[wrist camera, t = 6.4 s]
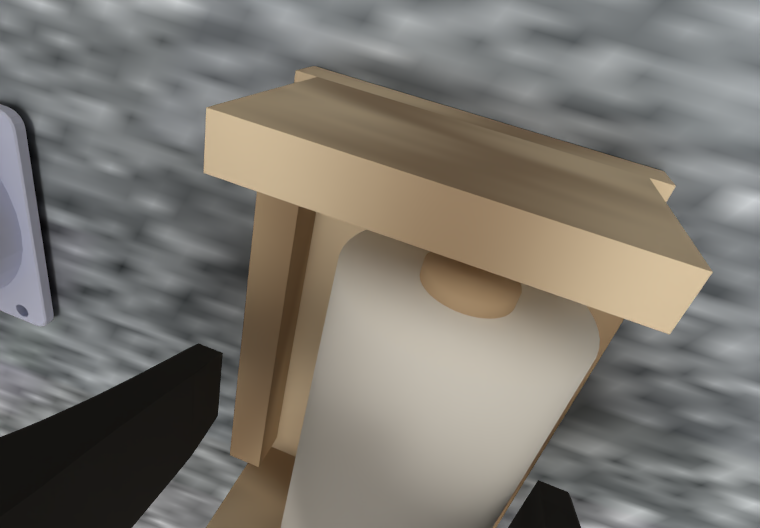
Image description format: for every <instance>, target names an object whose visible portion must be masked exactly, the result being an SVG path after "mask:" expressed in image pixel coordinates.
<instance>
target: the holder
mask: <svg viewBox="0 0 760 528" xmlns="http://www.w3.org/2000/svg"><path fill="white" fill-rule="evenodd" d="M204 173H206V174H208V175H211V176H214V177H217V178H220V179H223V180H226V181H229V182H232V183H234V184H237V185H240V186H243V187H246V188H249V189H252V190H255V191H257V197H256V207H255V216H254V226H253V236H252V245H251V255H250V265H249V274H248V284H247V294H246V304H245V313H244V323H243V333H242V342H241V352H240V362H239V371H238V381H237V391H236V400H235V410H234V420H233V429H232V439H231V449H230V455H232V456H234V457H236V458H238V459H241V460H243V461H245V462H248V464H247V465H246V467H245V468H244V470H243V472H242V473H241V475H240V476H239V478H238V479H237V481H236V482H235V484H234V485H233V487H232V488H231V490H230V491H229V493H228V495H227V496H226V498H225V499H224V501H223V502H222V504H221V505H220V507H219V508H218V510H217V511H216V513H215V514H214V516H213V518H212V519H211V521H210V522H209V524H208V525H207V527H206V528H281V523H282V519H283V514H284V509H285V505H286V500H287V495H288V491H289V486H290V481H291V477H292V472H293V467H294V463H295V458H296V453H297V449H298V444H299V439H300V435H301V430H302V425H303V421H304V416H305V411H306V407H307V402H308V397H309V393H310V388H311V383H312V379H313V374H314V369H315V365H316V360H317V355H318V351H319V346H320V341H321V337H322V332H323V327H324V323H325V318H326V313H327V309H328V304H329V299H330V295H331V290H332V285H333V281H334V276H335V271H336V267H337V262H338V258H339V254H340V252H341V250H342V248H343V246H344V245H345V244H346V243H347V242H348V241H349V240H350V239H351V238H352V237H354V236H355V235H356V234H358V233H360V232H362V231H364V230H370V231H373V232H376V233H379V234H382V235H384V236H387V237H390V238H393V239H396V240H399V241H402V242H405V243H407V244H410V245H413V246H416V247H419V248H422V249H425V250H428V251H431V252H433V253H436V254H439V255H442V256H445V257H448V258H451V259H454V260H457V261H459V262H462V263H465V264H468V265H471V266H474V267H477V268H480V269H482V270H485V271H488V272H491V273H494V274H497V275H500V276H503V277H506V278H508V279H511V280H514V281H517V282H520V283H523V284H526V285H529V286H532V287H534V288H537V289H540V290H543V291H546V292H549V293H552V294H555V295H557V296H560V297H563V298H566V299H569V300H572V301H575V302H578V303H581V304H583V305H586V306H587V307H588V309H589V311H590V312H591V314H592V316H593V318H594V320H595V322H596V325H597V328H598V332H599V338H600V343H599V351H598V354H597V357H596V359H595V361H594V362H593V364H592V365H591V367H590V369H589V370H588V372H587V374H586V375H585V377H584V379H583V380H582V382H581V383H580V385H579V387H578V388H577V390H576V392H575V393H574V395H573V397H572V398H571V400H570V401H569V403H568V405H567V406H566V408H565V410H564V411H563V413H562V415H561V416H560V418H559V419H558V421H557V423H556V424H555V426H554V428H553V429H552V431H551V433H550V434H549V436H548V437H547V439H546V441H545V442H544V444H543V446H542V447H541V449H540V451H539V452H538V454H537V455H536V457H535V459H534V460H533V462H532V464H531V465H530V467H529V469H528V470H527V472H526V473H525V475H524V477H523V478H522V480H521V482H520V483H519V485H518V487H517V488H516V490H515V492H514V493H513V495H512V496H511V498H510V500H509V501H508V503H507V505H506V506H505V508H504V510H503V511H502V513H501V514H500V516H499V518H498V519H497V521H496V523H495V524H494V526H493V528H496V527H497V525H498V523H499V522H500V520H501V519H502V517H503V515H504V514H505V512H506V510H507V509H508V507H509V506H510V504H511V502H512V501H513V499H514V497H515V496H516V494H517V493H518V491H519V489H520V488H521V486H522V484H523V483H524V481H525V479H526V478H527V476H528V475H529V473H530V471H531V470H532V468H533V466H534V465H535V463H536V462H537V460H538V458H539V457H540V455H541V453H542V452H543V450H544V449H545V447H546V445H547V444H548V442H549V440H550V439H551V437H552V436H553V434H554V432H555V431H556V429H557V427H558V426H559V424H560V422H561V421H562V419H563V418H564V416H565V414H566V413H567V411H568V409H569V408H570V406H571V405H572V403H573V401H574V400H575V398H576V396H577V395H578V393H579V392H580V390H581V388H582V387H583V385H584V383H585V382H586V380H587V379H588V377H589V375H590V374H591V372H592V370H593V369H594V367H595V366H596V364H597V362H598V361H599V359H600V357H601V356H602V354H603V352H604V351H605V349H606V348H607V346H608V344H609V343H610V341H611V339H612V338H613V336H614V335H615V333H616V331H617V330H618V328H619V326H620V325H621V323H622V322H623V320H624V319H627V320H630V321H632V322H635V323H638V324H641V325H644V326H647V327H650V328H653V329H656V330H658V331H661V332H664V333H667V334H670V333H671V332H672V330H673V329H674V327H675V326H676V325H677V323H678V322H679V320H680V319H681V317H682V316H683V314H684V313H685V312H686V310H687V309H688V307H689V306H690V304H691V303H692V301H693V300H694V298H695V297H696V296H697V294H698V293H699V291H700V290H701V288H702V287H703V285H704V284H705V283H706V281H707V280H708V278H709V277H710V275H711V274H712V270H711V269H710V267H709V266H708V264H707V263H706V261H705V260H704V258H703V257H702V255H701V254H700V252H699V251H698V249H697V248H696V246H695V245H694V244H693V242H692V241H691V239H690V238H689V236H688V235H687V233H686V232H685V230H684V229H683V227H682V226H681V224H680V223H679V221H678V220H677V218H676V217H675V215H674V214H673V212H672V211H671V209H670V208H669V206H668V205H667V203H666V202H667V200H668V199H669V197H670V195H671V193H672V192H673V190H674V188H675V184H674V183H673V182H672V181H671V179H670V178H669V177H668V176H667V174H666V173H665V172H664V171H661V170H658V169H654V168H651V167H648V166H644V165H641V164H638V163H634V162H631V161H628V160H624V159H621V158H618V157H615V156H611V155H608V154H605V153H601V152H598V151H595V150H591V149H588V148H585V147H581V146H578V145H575V144H571V143H568V142H565V141H561V140H558V139H555V138H551V137H548V136H545V135H541V134H538V133H535V132H532V131H528V130H525V129H522V128H518V127H515V126H512V125H508V124H505V123H502V122H498V121H495V120H492V119H488V118H485V117H482V116H478V115H475V114H472V113H468V112H465V111H462V110H458V109H455V108H452V107H449V106H445V105H442V104H439V103H435V102H432V101H429V100H425V99H422V98H419V97H415V96H412V95H409V94H405V93H402V92H399V91H395V90H392V89H389V88H385V87H382V86H379V85H375V84H372V83H369V82H366V81H362V80H359V79H356V78H352V77H349V76H346V75H342V74H339V73H336V72H332V71H329V70H326V69H322V68H319V67H316V66H313V67H308V68H304V69H299V70H296V72H295V80H294V83H293V84H289V85H286V86H282V87H278V88H275V89H271V90H268V91H264V92H260V93H257V94H253V95H250V96H246V97H242V98H239V99H235V100H231V101H228V102H224V103H221V104H217V105H213V106H210V107H206V128H205V152H204Z"/></svg>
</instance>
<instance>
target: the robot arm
mask: <svg viewBox="0 0 760 528" xmlns="http://www.w3.org/2000/svg"><path fill="white" fill-rule="evenodd" d="M0 311H3V312H5V313H8V314H10V315H12V316H15V317H17V318H20V319H22V320H24V321H27V322H29V323H31V324H34V325H37V326H45V325H46V324H48V323H49V322H51V321H52V320H53V316H54V313H53V307H52V300H51V294H50V287H49V280H48V274H47V267H46V261H45V254H44V247H43V241H42V234H41V228H40V221H39V214H38V208H37V201H36V195H35V188H34V181H33V175H32V168H31V162H30V155H29V148H28V142H27V135H26V129H25V125H24V122H23V120H22V119H21V117H20V116H19V115H18V114H17V113H16V112H15V111H14V110H13V109H11V108H9V107H7V106H4V105H1V104H0ZM222 354H223V353H221V352H218V351H216V350H214V349H211V348H209V347H206V346H204V345H201V344H196V345H194V346H192V347H190V348H188V349H186V350H184V351H182V352H181V353H179V354H177V355H175V356H173V357H171V358H169V359H167V360H165V361H163V362H162V363H160V364H158V365H156V366H154V367H152V368H150V369H148V370H146V371H144V372H142V373H141V374H139V375H137V376H135V377H133V378H131V379H129V380H127V381H125V382H123V383H121V384H119V385H117V386H115V387H113V388H111V389H109V390H107V391H105V392H103V393H101V394H99V395H97V396H94V397H92V398H90V399H88V400H86V401H84V402H82V403H79V404H77V405H75V406H73V407H71V408H68V409H66V410H64V411H62V412H59V413H57V414H55V415H53V416H51V417H48V418H46V419H44V420H41V421H39V422H37V423H34V424H32V425H30V426H27V427H25V428H22V429H20V430H17V431H15V432H12V433H10V434H7V435H5V436H2V437H0V528H132V527H133V526H134V524H135V523H136V522H137V521H138V520H139V518H140V517H141V516H142V515H143V514H144V512H145V511H146V510H147V509H148V508H149V506H150V505H151V504H152V503H153V502H154V500H155V499H156V498H157V497H158V496H159V494H160V493H161V492H162V491H163V490H164V488H165V487H166V486H167V485H168V484H169V482H170V481H171V480H172V479H173V478H174V476H175V475H176V474H177V473H178V471H179V470H180V469H181V468H182V467H183V465H184V464H185V463H186V462H187V460H188V459H189V458H190V457H191V455H192V454H193V453H194V451H195V450H196V448H197V447H198V445H199V444H200V442H201V441H202V439H203V438H204V436H205V435H206V433H207V431H208V430H209V428H210V427H211V425H212V424H213V422H214V421H215V419H216V417H217V416H218V405H219V393H220V380H221V367H222ZM508 528H581V526H580V523H579V520H578V518H577V515H576V512H575V509H574V506H573V503H572V500H571V497H570V495H569V493H568V492H566V491H564V490H561V489H559V488H556V487H554V486H551V485H549V484H546V483H544V482H541V481H539V480H538V482H537V483H536V485H535V486H534V488H533V489H532V491H531V493H530V494H529V496H528V497H527V499H526V500H525V502H524V504H523V505H522V507H521V508H520V510H519V511H518V513H517V515H516V516H515V518H514V519H513V521H512V522H511V524H510V526H509V527H508Z"/></svg>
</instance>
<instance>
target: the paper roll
mask: <svg viewBox="0 0 760 528" xmlns="http://www.w3.org/2000/svg"><path fill="white" fill-rule="evenodd" d="M599 343H600V338H599V332H598V328H597V325H596V322H595V320H594V318H593V316H592V314H591V312H590V311H589V309H588V307H587V306H586V305H583V304H581V303H578V302H575V301H572V300H569V299H566V298H563V297H560V296H557V295H555V294H552V293H549V292H546V291H543V290H540V289H537V288H534V287H532V286H529V285H526V284H523V283H520V282H517V281H514V280H511V279H508V278H506V277H503V276H500V275H497V274H494V273H491V272H488V271H485V270H482V269H480V268H477V267H474V266H471V265H468V264H465V263H462V262H459V261H457V260H454V259H451V258H448V257H445V256H442V255H439V254H436V253H433V252H431V251H428V250H425V249H422V248H419V247H416V246H413V245H410V244H407V243H405V242H402V241H399V240H396V239H393V238H390V237H387V236H384V235H382V234H379V233H376V232H373V231H370V230H364V231H362V232H360V233H358V234H356V235H355V236H354V237H352V238H351V239H350V240H349V241H348V242H347V243H346V244H345V245H344V246H343V248H342V250H341V252H340V254H339V258H338V262H337V267H336V271H335V276H334V281H333V285H332V290H331V295H330V299H329V304H328V309H327V313H326V318H325V323H324V327H323V332H322V337H321V341H320V346H319V351H318V355H317V360H316V365H315V369H314V374H313V379H312V383H311V388H310V393H309V397H308V402H307V407H306V411H305V416H304V421H303V425H302V430H301V435H300V439H299V444H298V449H297V453H296V458H295V463H294V467H293V472H292V477H291V481H290V486H289V491H288V495H287V500H286V505H285V509H284V514H283V519H282V523H281V528H493V526H494V524H495V523H496V521H497V519H498V518H499V516H500V514H501V513H502V511H503V510H504V508H505V506H506V505H507V503H508V501H509V500H510V498H511V496H512V495H513V493H514V492H515V490H516V488H517V487H518V485H519V483H520V482H521V480H522V478H523V477H524V475H525V473H526V472H527V470H528V469H529V467H530V465H531V464H532V462H533V460H534V459H535V457H536V455H537V454H538V452H539V451H540V449H541V447H542V446H543V444H544V442H545V441H546V439H547V437H548V436H549V434H550V433H551V431H552V429H553V428H554V426H555V424H556V423H557V421H558V419H559V418H560V416H561V415H562V413H563V411H564V410H565V408H566V406H567V405H568V403H569V401H570V400H571V398H572V397H573V395H574V393H575V392H576V390H577V388H578V387H579V385H580V383H581V382H582V380H583V379H584V377H585V375H586V374H587V372H588V370H589V369H590V367H591V365H592V364H593V362H594V361H595V359H596V357H597V354H598V351H599Z"/></svg>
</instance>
